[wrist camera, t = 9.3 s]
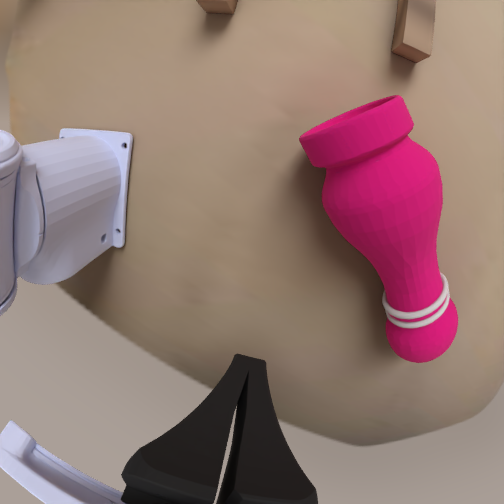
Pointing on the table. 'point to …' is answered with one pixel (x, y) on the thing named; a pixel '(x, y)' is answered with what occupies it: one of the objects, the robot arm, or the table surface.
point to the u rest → (405, 34)
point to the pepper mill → (389, 217)
